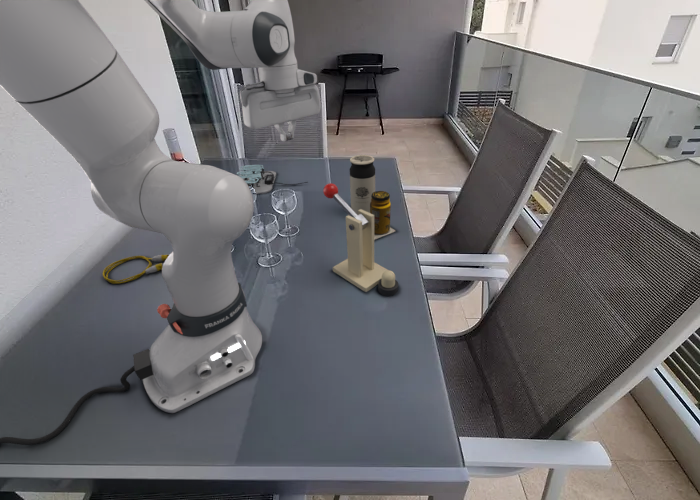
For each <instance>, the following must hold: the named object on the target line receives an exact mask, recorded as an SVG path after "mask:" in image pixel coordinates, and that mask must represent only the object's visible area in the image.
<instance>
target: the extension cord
mask: <svg viewBox="0 0 700 500" xmlns="http://www.w3.org/2000/svg"><path fill="white" fill-rule="evenodd" d="M169 255H170V254H158V255H155V256H152V257H146V256H145V255H133V256H128V257H125V258H121V259H119V260H116V261H114V262H112V263H110V264H108V265H107V266H106V267H105V268H104V269H103V270H102V277H103V279H104V280H106V281H107V282H109V283H111V284H114V285H119V284H125V283H128V282H132V281H134V280H137V279H139V278H140V277H142V276H143V275H144V274H146V275H148V274H153V273H154V274H155V273H157V272H159V271H162V267H163V263H162V262H165V260H166V259H167V257H168V256H169ZM136 259H142V260H146V261H147V262H148V265H147V266H146V268H145V269H144V270H142V272H140V273H138V274H135V275H133V276H129V277H127V278H123V279H118V280H117V279H116V280H115V279H111V278H109V273H110V272H111V271H112V270H113V269H114V268H116V267H118V266H119V265H121V264H124V263H126V262H128V261H132V260H136ZM151 260H152V262H159V263H157V264H154V265H153V264H152V262H151Z"/></svg>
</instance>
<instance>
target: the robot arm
mask: <svg viewBox="0 0 700 500" xmlns="http://www.w3.org/2000/svg"><path fill="white" fill-rule="evenodd" d="M144 1H145V3H146V4H147V5H148V6H149V7H150V8H151V9H152V10H153V11H154V12H155V13H156V14H157V15H158V16H159V17H160V19H162V20H163V21H164V22H165V23H166V24H167V25H168V26H169V27H170V28H171V29H172V30H173V31H174V32H175V33H176V34H177V35H178V36H179V37H180V38H181V39H182V40H183V42H184V43H185V44H186V46H188V48H189V50H190V51H191V53H192V54H193V56H194V57H195V58H196V59H197V61H198V62H199V63H200V64H201V65H202V66H204V67H205V68H206V69H208V70H212V71H215V70H216V71H217V70H227V69H257V71H258V78H259V81H257V82H253V83H245V84H244V86H243V87H241V89H240V91H239V98H240V102H241V109H242V119H243V120H242V121H243V125H245V126H246V127H247V128H248V129H250V130H253V131H254V130H255V131H257V130H260V129H265V128H268V127H272V126H274V128H275V130H276V131H277V133H278V134H279V137H280V141H281V142H288V141H291V140H295V131H296V128H297V124H298V123H297V120H301V119H304V118H305V119H306V118H309V117H312V116H317V115H319V114H320V112H321V109H322V103H321V96H320V89H319V87H318V86H317V85H316V84H317V83H318V75H317V74H316V73H314V72H311V71H307V70H303V69H300V68H298V67H299V66H298V59H297V57H296V53H295V43H296V38H295V29H294V22H293V17H292V12H291V8H290V4H289V0H248V5H247V6H246V7H244V8H243V10H233V11H232V10H231V11H229V10H228V11H211V10H205V9H202V8H199V7H198V6H197V4H196V3H195V1H194V0H144ZM0 87H1V88H2V89H3V90H4V91H5V92H6V93H7V94H8V95H9V96H10V97H11V98H12V99H13V100H14V101H15V102H16V103H17V104H18V105H19V106H20V107H21V108H22V109H23V110H24V111H25V112H26V113H27V114H28V115H29V116H30V117H31V118H33V119H34V120H35V121H36V123H38V124H39V126H41V127H42V128H43V129H44V130H45V131H46V132H47V133H48V134H49V135H50V136H51V137H52V138H53V140H55V141H56V143H58V144H59V145H60V146H61V147H62V148H63V149H64V150H65V151H66V152H67V153H68V154H69V155H70V156H71V157H72V159H74V161H75V162H76V163H77V164H78V166H79V167H80V168H81V170H82V171H83V173H84V174H85V175H86V177H87V179H88V180H89V181H90V194H91V198H92V200H93V203H94V204H95V206H96V207H97V208H98V210H99V212H101V213H103V214H104V215H105V216H108V217H109V218H111V219H113V220H115V221H117V222H119V223H121V224H122V225H125V226H128V227H130V228H133V229H139V230H144V231H149V232H153V233H158V234H161V235H163V236H164V237H165V238H166V239H167V240H168V241H169V243H170V244H171V247H172V252H170V254H168V255H169V256H168V257H167V259H166V260H164V261H163V263H162V266H163V267H162V270H161V276H162V279H163V281H164V283H165V286H166V288H167V290H168V292H169V294H170V295H169V296H170V297H171V299H172V301H173V305H172V307H171V306H170V305H169V304H167V303H162V304H160V305H158V307H157V309H156V311H157V313H158V314H159V315H160V317H161V318H162V319H166V320H167V323H168V324H167V325H166V327H165V328H164V330H163V331H162V332H161V333H160V334H159V335H158V337H157V338H156V339H155V340H154V341H153V343H152V344H151V346H150V347H149V348H147V349H143V350H142V351H139V352H136V353H133V354H132V357H133V365H132V366H131V367H130V368H129V369H127V370H126V371H125V372H123V374H122V375H121V377H120V384H121V385H122V386H121V387H112V386H103V387H98V388H94V389H91V390H90V391H88V392H87V393H85V394H84V395H83V396H81V397H80V398H79V399H78V401H77V402H76V403H75V404H74V405H73V406H72V408H71V410H70V411H69V413H68V414H67V416H66V417H65V419H63V421H62V422H61V424H60V425H59V426H58V427H57V428H55V429H54V430H53V431H51V432H50V433H48V434H46V435H44V436H41V437H37V438H22V437H15V436H14V437H13V436H2V437H0V444H13V445H21V446H34V445H40V444H43V443H46V442H48V441H50V440H52V439H54V438H55V437H57V436H58V435H59V434H61V433H62V432H63V431H64V430H65V429H66V428H67V427H68V425H69V424H70V423H71V421H72V420H73V418H74V417H75V415H76V413H77V412H78V411H79V409H80V407H81V406H82V405H83V404H84V403H85V402H86V401H87V400H89V399H90V398H91V397H92V396H95V395H97V394H102V393H125V392H126V391H128V390H129V389H130V388H131V383H130V382H129V381H128V380H127V379H128V377H129V376H130V375H132V374H133V373H135V374H136V376H137V378H138V380H140V381H142V383H143V387H144V389H145V391H146V394H147V396H148V398H149V399H150V401H151V403H152V404H154V406H156V407H157V408H158V409H159V410H161V411H162V412H165V413H169V414H175V413H178V412H180V411H181V410H183V409H185V408H187V407H189V406H191V405H193V404H196V403H198V402H199V401H201V400H203V399H206V398H207V397H209V396H212V395H214V394H215V393H218V392H220V391H221V390H224V389H225V388H227V387H229V386H232V385H233V384H235V383H237V382H239V381H241V380H243V379H245V378H247V377H249V376H251V375H252V374H253V373H254V372H255V367H256V358H257V357H258V354H259V353H260V351H261V348H262V345H263V334H262V332H261V330H260V329H259V327H258V326H257V324H256V323H255V322H254V320H253V319H252V317H251V315H250V313H249V311H248V308H247V306H248V304H247V298H246V294H245V291H244V289H243V286H242V284H241V283H240V282H238V278H237V274H236V270H235V266H234V262H233V257H232V247H233V243H234V242H235V241H236V240H237V239H239V238H240V237H241V236H242V235H243V234H244V233H245V232H246V231H247V229H248V228H249V226H250V224H251V222H252V220H253V216H254V210H255V208H254V207H255V201H254V196H253V194H252V193H251V190H250V188H249V186H248V184H247V183H246V182H245V181H244V180H243V179H242V178H241V177H239V175H237V174H234V173H233V172H229V171H227V170H224V169H222V168H219V167H217V166H213V165H209V164H201V163H194V162H185V161H178V160H174V159H172V158H170V157H169V156H167V155H166V154H165V153H164V152H163V151H162V150H161V149H160V146H159V145H158V143H157V141H156V139H155V138H156V136H157V133H158V130H159V128H160V114H159V111H158V109H157V107H156V105H155V104H154V103H153V101H152V100H151V98H150V97H149V95H148V94H147V92H146V91H145V89H144V87H142V85H141V84H140V82H139V81H138V79H137V78H136V76H135V75H134V74H133V72H132V70H131V69H130V68H129V66H128V65H127V64H126V62H125V61H124V58H122V56H121V55H120V53H119V52H118V51H117V49H116V48H115V46H114V45H113V43H112V42H111V41H110V39H109V38H108V36H107V35H106V33H105V32H104V31H103V29H102V28H101V27H100V26H99V24H98V23H97V22H96V20H94V18H93V17H92V15H91V14H90V13H89V11H88V10H87V9H86V8H85V7H84V6H83V4H82V3H81V2H80V1H79V0H0ZM285 123H286V124H287V125H288V127H287V131H286V130H284V128H285Z"/></svg>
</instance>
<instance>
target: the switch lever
mask: <svg viewBox="0 0 700 500" xmlns="http://www.w3.org/2000/svg"><path fill="white" fill-rule="evenodd" d="M322 193H323V195H324V196H325V198H327V199H333V200H334V201H335V202H336V203H337V204H338V205H339V206H340V207H341V208H342V209H343V210H344V211H345V212H346V214H347V216H348V215H349V216H351V217H353V218H356V219H358V220H360V221H362V230H363V229H365V228H366V226H367V224H368V223H369V221H368V220H367V219H366V218H365V217H364V216H363V215H362V214H359V215H357V214H356V213H355V212H354V211H353V210H352V209H351V206H350V205H349V204H348V203H347V202H346V201H345V200H344V199H343V198H342V197H341V196H340V194H339V188H338V186H337V185H336V184H335V183H332V182H331V183H327V184H325V185H324V187H323V190H322Z"/></svg>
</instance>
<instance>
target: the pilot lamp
mask: <svg viewBox="0 0 700 500" xmlns="http://www.w3.org/2000/svg"><path fill="white" fill-rule="evenodd" d="M377 291H378V293H379V294H380V295H382V296H385V297H392V296H395V295H397V293H398V292H399V281H398V280H396V274H395V273H394V271H392V270H389V269H387V271H385V272H383V274H382V279H381V280H379V282H378V285H377Z"/></svg>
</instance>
